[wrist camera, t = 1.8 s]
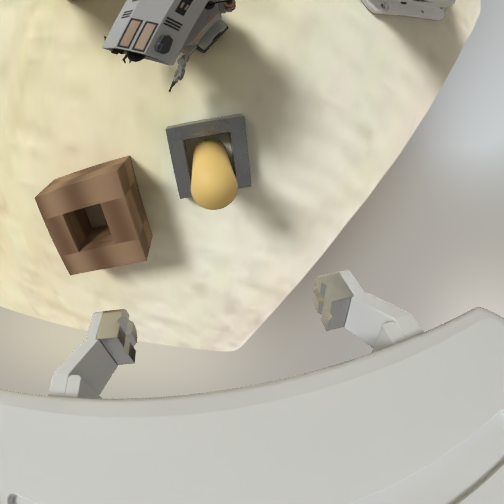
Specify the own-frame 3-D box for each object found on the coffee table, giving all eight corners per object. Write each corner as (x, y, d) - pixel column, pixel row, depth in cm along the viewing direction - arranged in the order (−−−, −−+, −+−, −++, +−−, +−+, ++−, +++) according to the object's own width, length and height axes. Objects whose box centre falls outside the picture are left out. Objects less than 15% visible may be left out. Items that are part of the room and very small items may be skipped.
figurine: (116, 56, 23) (60, 43, 11) (178, -15, 19) (166, -71, 7) (174, 91, 27) (154, 96, 15) (237, 21, 23) (266, -19, 11)
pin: (223, 136, 32) (234, 162, 22) (227, 165, 34) (240, 205, 24) (191, 141, 31) (186, 171, 22) (196, 171, 34) (195, 213, 24)
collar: (241, 114, 30) (243, 115, 29) (248, 180, 36) (251, 186, 34) (167, 126, 30) (165, 129, 28) (181, 192, 35) (180, 198, 33)
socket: (129, 155, 31) (117, 170, 26) (152, 235, 38) (146, 260, 33) (54, 179, 30) (34, 197, 25) (82, 250, 37) (70, 275, 32)
